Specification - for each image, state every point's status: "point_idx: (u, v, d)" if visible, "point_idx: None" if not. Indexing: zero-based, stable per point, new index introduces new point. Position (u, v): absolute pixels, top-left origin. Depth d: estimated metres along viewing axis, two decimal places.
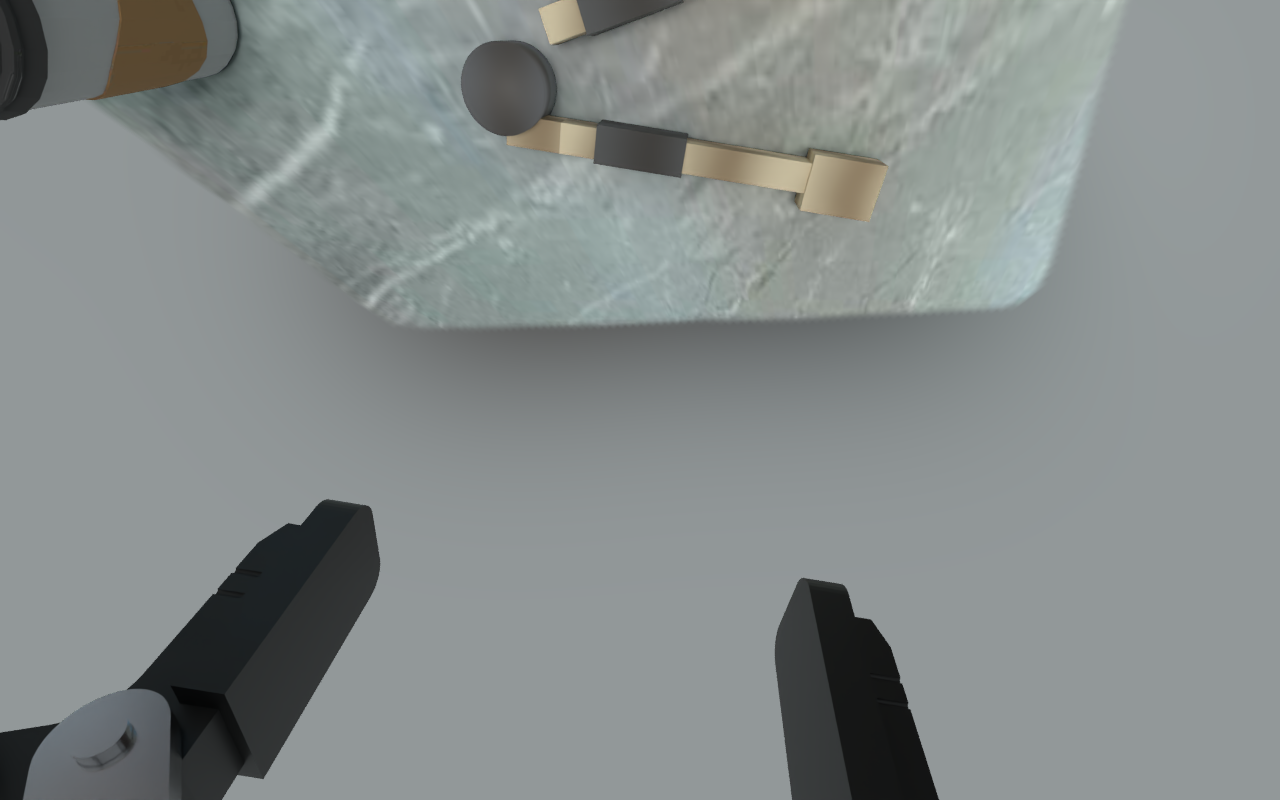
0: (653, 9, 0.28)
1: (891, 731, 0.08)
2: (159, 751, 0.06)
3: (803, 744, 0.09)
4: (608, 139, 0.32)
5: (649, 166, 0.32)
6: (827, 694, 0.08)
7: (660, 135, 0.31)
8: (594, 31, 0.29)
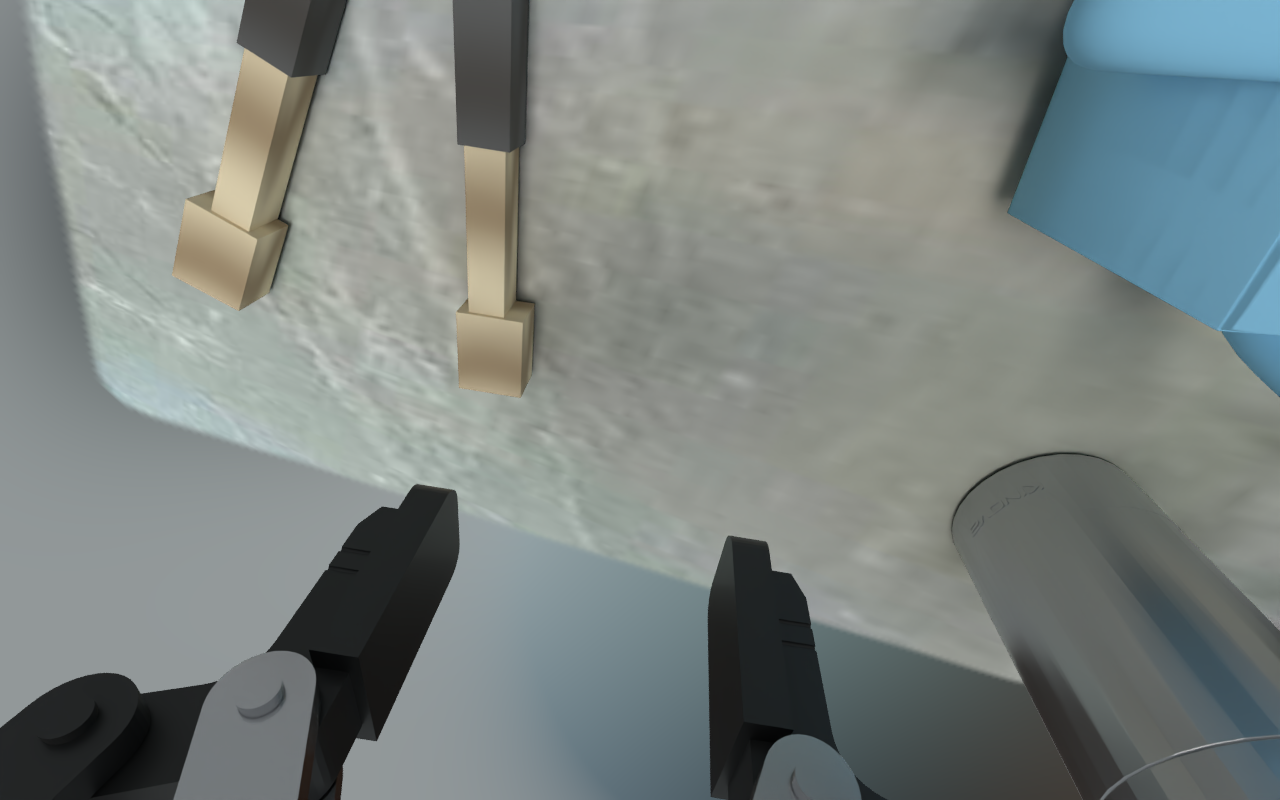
0: (457, 101, 0.21)
1: (795, 669, 0.09)
2: (302, 718, 0.07)
3: (719, 685, 0.10)
4: None
5: None
6: (736, 635, 0.09)
7: (302, 36, 0.20)
8: None
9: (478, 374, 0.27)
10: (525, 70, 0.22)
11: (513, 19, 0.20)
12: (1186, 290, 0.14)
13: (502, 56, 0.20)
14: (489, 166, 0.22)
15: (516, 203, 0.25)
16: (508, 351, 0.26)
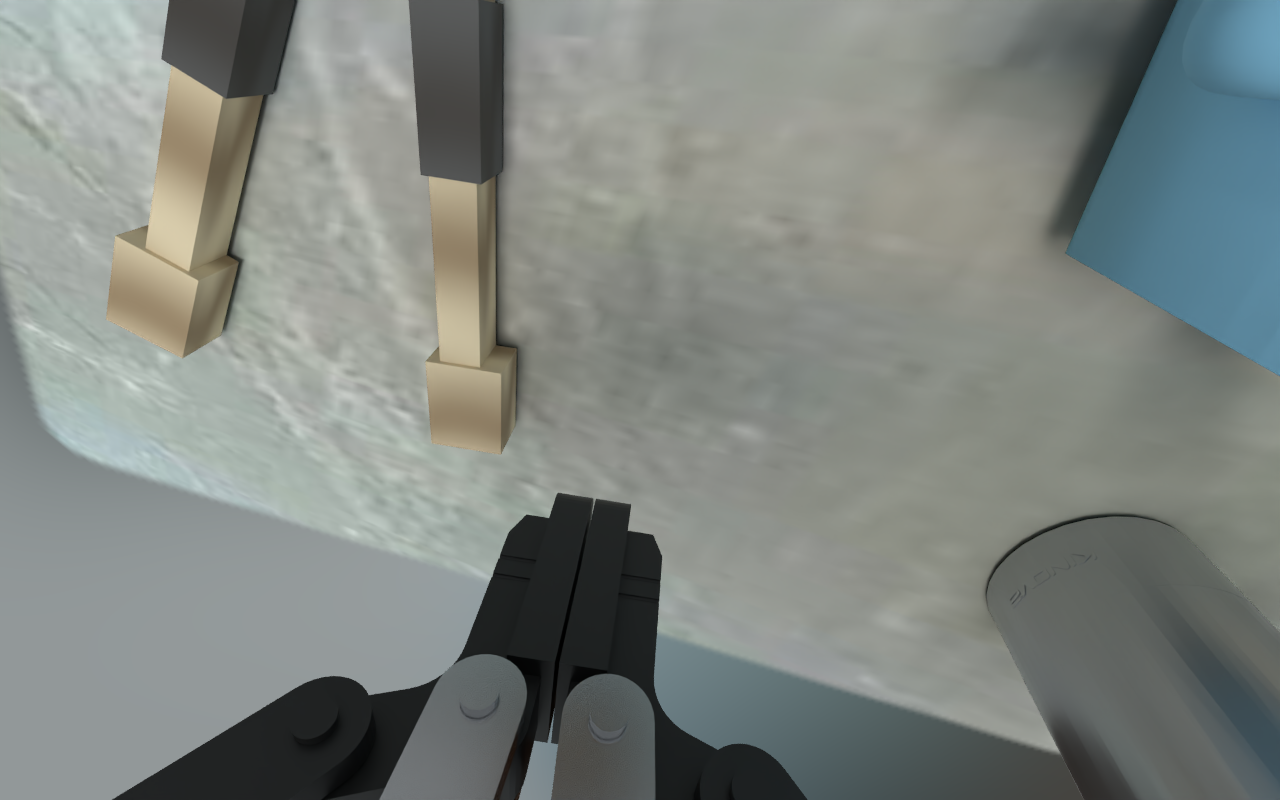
0: (419, 126, 0.18)
1: (633, 620, 0.09)
2: (506, 737, 0.07)
3: None
4: None
5: (181, 4, 0.17)
6: None
7: (236, 51, 0.17)
8: (411, 6, 0.16)
9: (452, 429, 0.24)
10: (500, 89, 0.19)
11: (482, 30, 0.17)
12: None
13: (469, 73, 0.17)
14: (458, 199, 0.19)
15: (493, 239, 0.22)
16: (485, 404, 0.23)
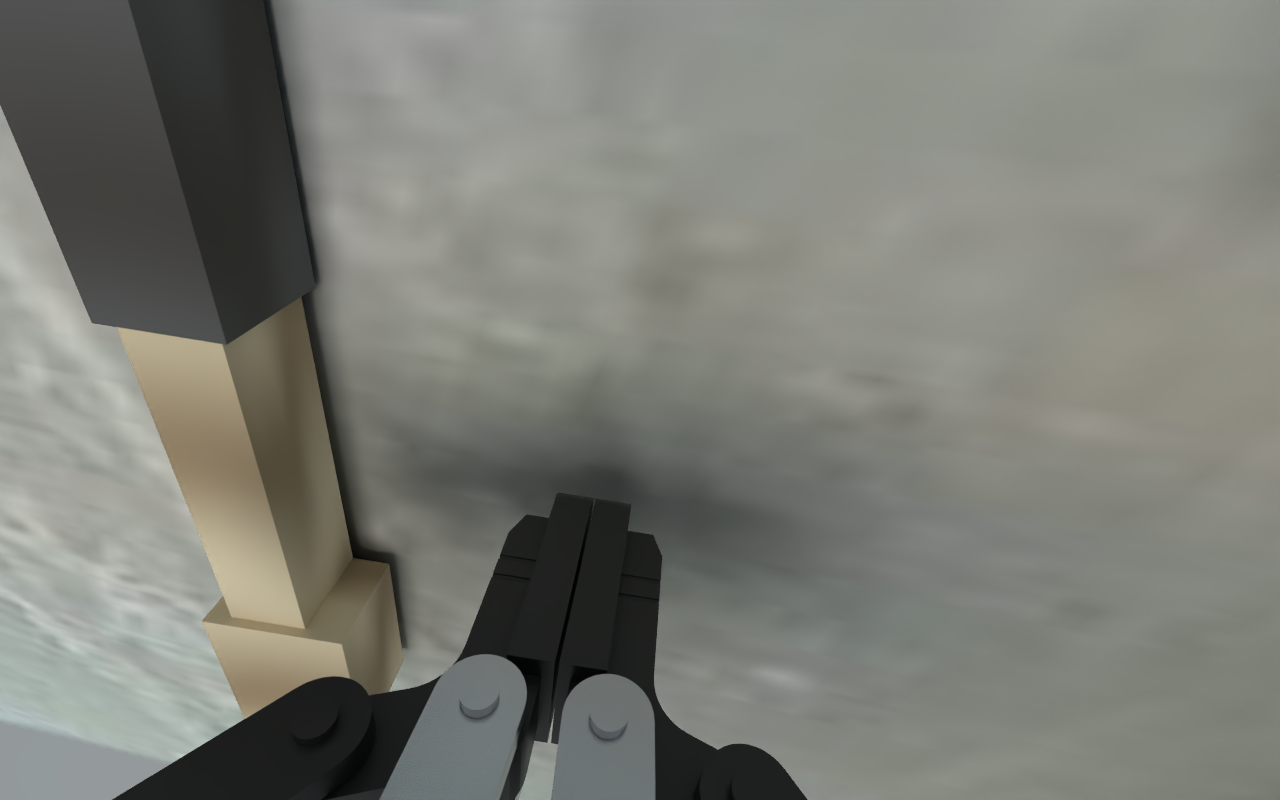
0: (54, 223, 0.08)
1: (633, 620, 0.09)
2: (506, 737, 0.07)
3: None
4: None
5: None
6: None
7: None
8: None
9: None
10: (277, 130, 0.09)
11: None
12: None
13: (134, 104, 0.07)
14: (191, 368, 0.09)
15: (314, 406, 0.11)
16: None
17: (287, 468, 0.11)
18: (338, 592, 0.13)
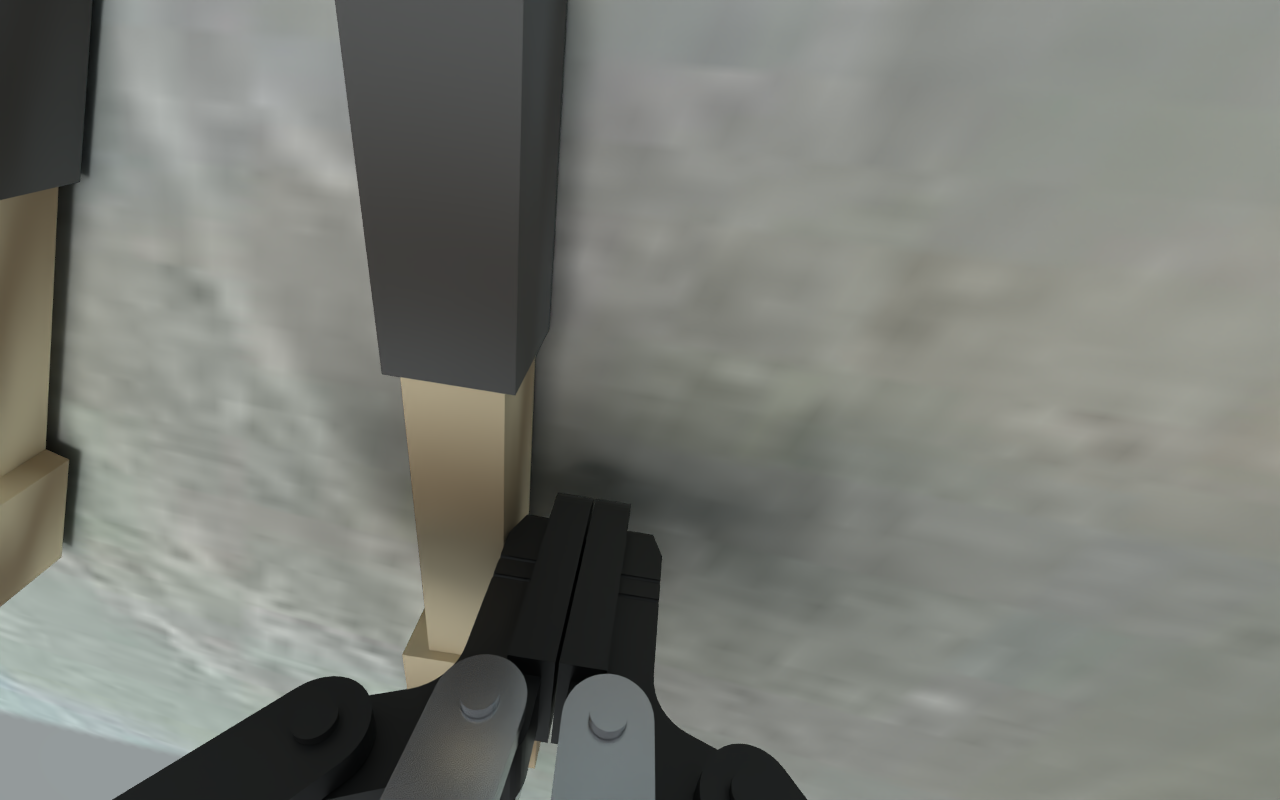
0: (374, 280, 0.08)
1: (633, 620, 0.09)
2: (506, 737, 0.07)
3: None
4: None
5: None
6: None
7: None
8: (339, 1, 0.06)
9: None
10: (554, 181, 0.09)
11: (529, 66, 0.06)
12: None
13: (495, 171, 0.07)
14: (465, 416, 0.09)
15: (528, 444, 0.11)
16: None
17: (513, 507, 0.11)
18: None
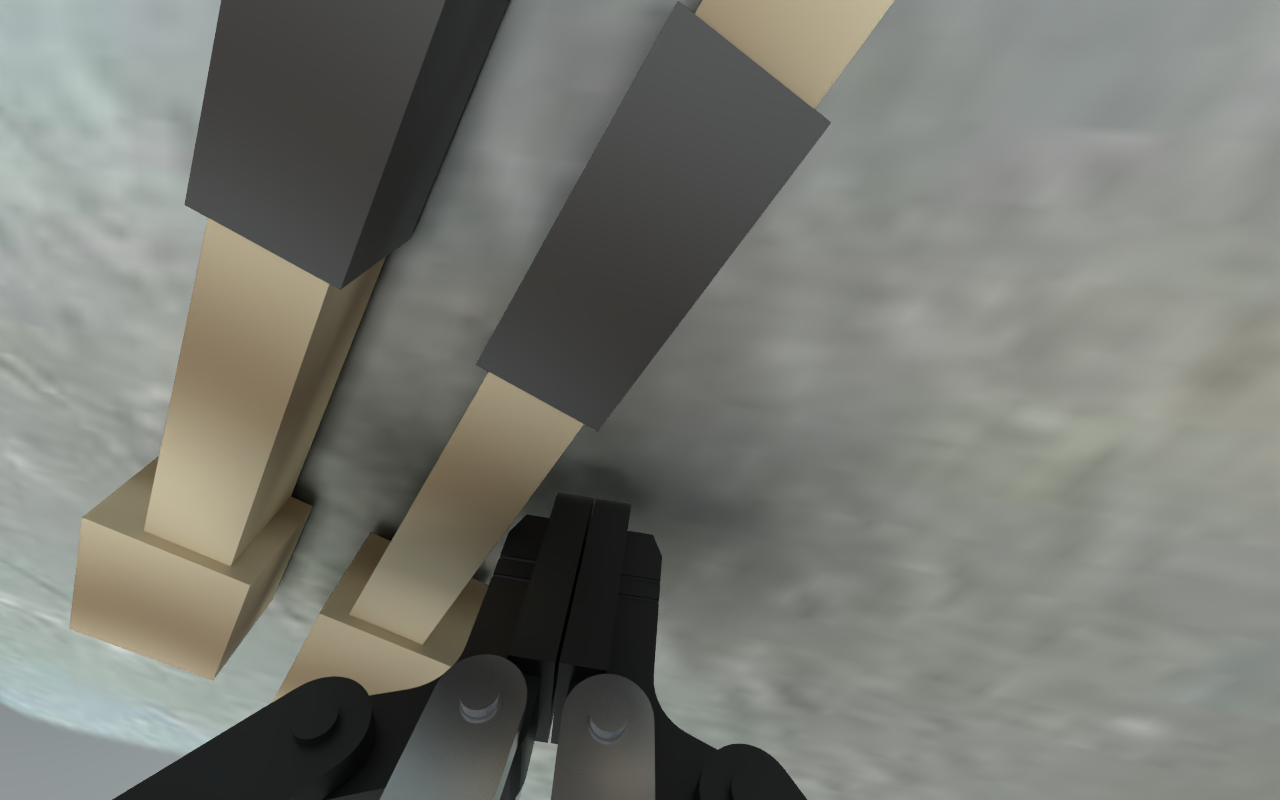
0: (525, 284, 0.07)
1: (633, 620, 0.09)
2: (506, 737, 0.07)
3: None
4: None
5: (241, 77, 0.06)
6: None
7: (376, 190, 0.07)
8: (659, 46, 0.06)
9: None
10: None
11: (781, 177, 0.07)
12: None
13: (706, 250, 0.07)
14: (531, 428, 0.09)
15: None
16: None
17: None
18: None
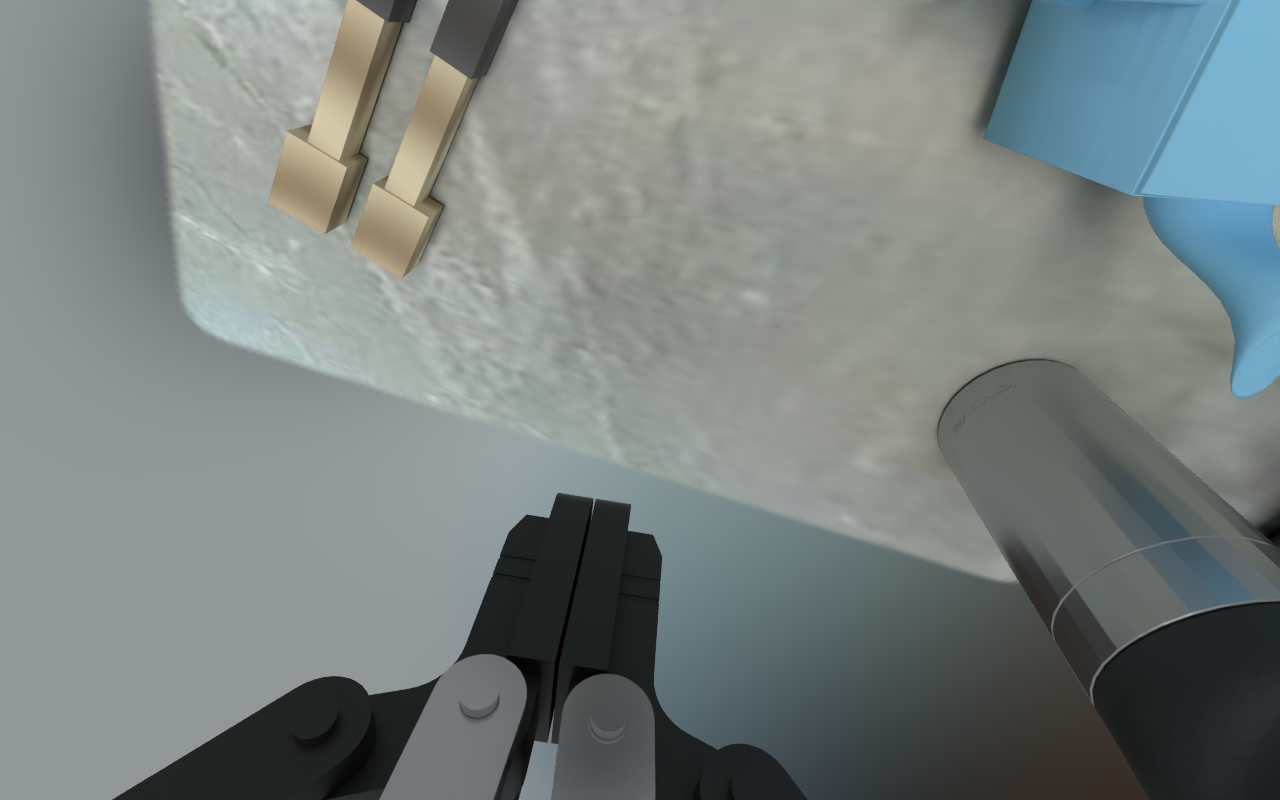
0: (443, 18, 0.25)
1: (633, 620, 0.09)
2: (506, 737, 0.07)
3: None
4: None
5: None
6: None
7: None
8: None
9: (372, 243, 0.31)
10: (507, 21, 0.26)
11: None
12: (1111, 171, 0.19)
13: (493, 4, 0.24)
14: (449, 81, 0.26)
15: (459, 119, 0.29)
16: (406, 235, 0.30)
17: (447, 134, 0.28)
18: (424, 203, 0.30)
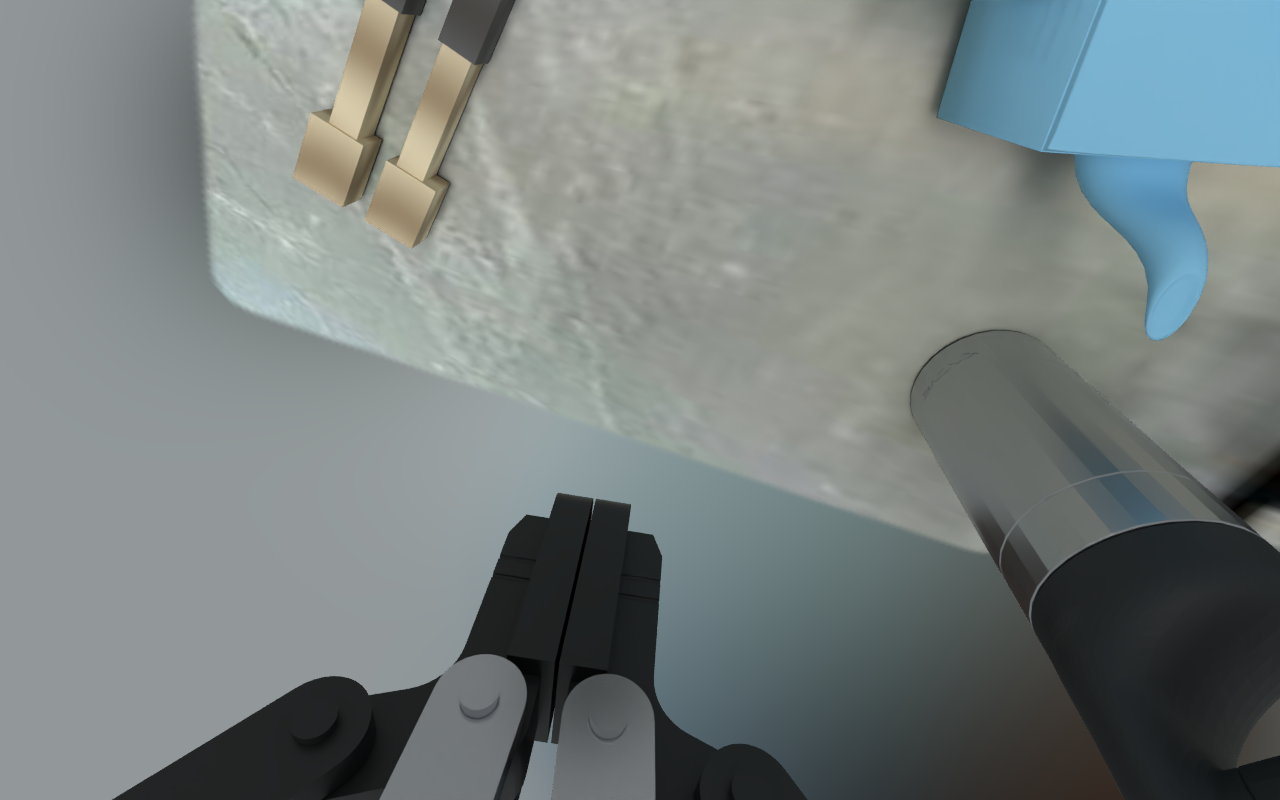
0: (450, 10, 0.28)
1: (633, 620, 0.09)
2: (506, 737, 0.07)
3: None
4: None
5: None
6: None
7: None
8: None
9: (384, 216, 0.34)
10: (507, 14, 0.30)
11: None
12: (1027, 132, 0.21)
13: None
14: (455, 67, 0.29)
15: (465, 102, 0.32)
16: (416, 208, 0.33)
17: (453, 116, 0.31)
18: (432, 179, 0.34)
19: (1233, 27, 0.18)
